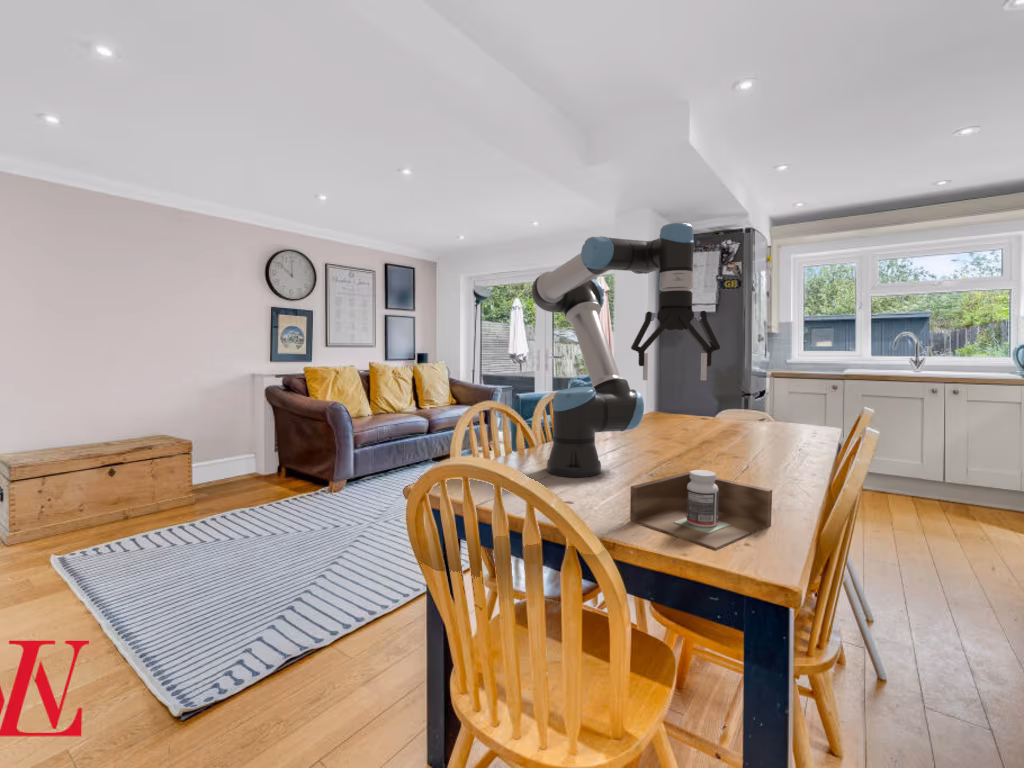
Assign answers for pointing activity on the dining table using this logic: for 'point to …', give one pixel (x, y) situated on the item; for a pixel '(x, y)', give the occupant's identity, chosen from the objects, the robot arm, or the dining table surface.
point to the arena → (667, 510)
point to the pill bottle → (702, 499)
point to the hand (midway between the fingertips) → (674, 380)
